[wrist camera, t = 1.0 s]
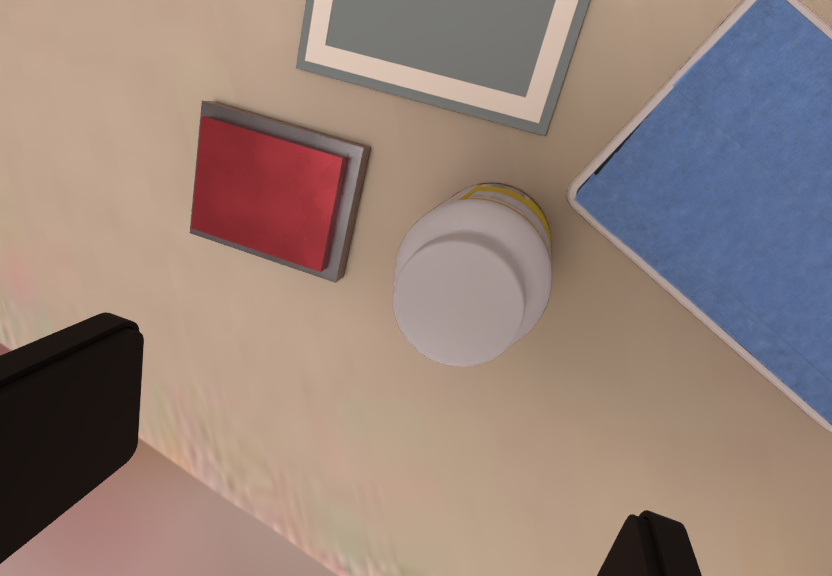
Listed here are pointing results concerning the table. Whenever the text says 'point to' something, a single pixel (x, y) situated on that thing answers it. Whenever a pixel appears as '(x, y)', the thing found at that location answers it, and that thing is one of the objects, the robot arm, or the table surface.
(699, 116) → the blue flat pad
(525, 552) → the table surface
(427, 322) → the pill bottle
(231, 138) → the ink pad
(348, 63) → the marked board
